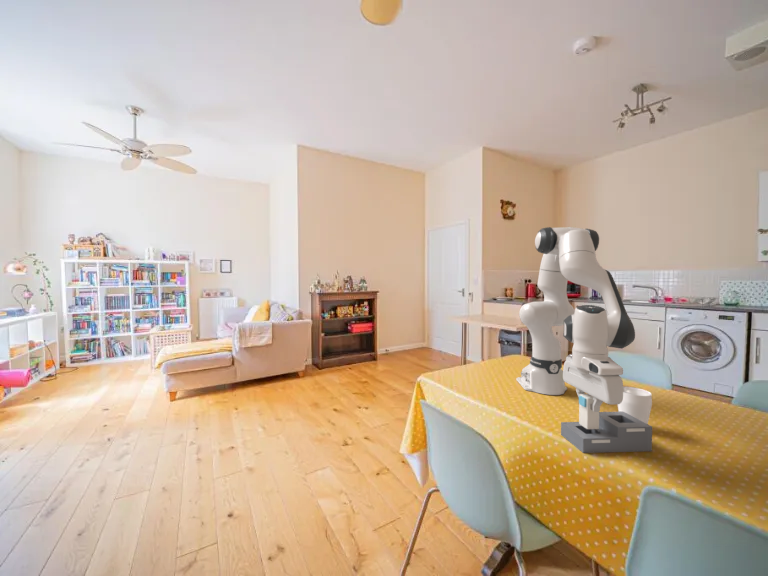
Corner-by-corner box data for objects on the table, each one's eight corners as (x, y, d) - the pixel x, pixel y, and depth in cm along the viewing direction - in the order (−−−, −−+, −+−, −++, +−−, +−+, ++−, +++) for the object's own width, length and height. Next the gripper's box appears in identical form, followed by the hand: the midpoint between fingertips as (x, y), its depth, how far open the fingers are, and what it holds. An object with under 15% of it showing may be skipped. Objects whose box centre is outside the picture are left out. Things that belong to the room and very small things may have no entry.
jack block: (560, 434, 96) (561, 412, 96) (622, 433, 97) (623, 411, 97) (583, 453, 86) (584, 428, 86) (652, 451, 87) (652, 426, 87)
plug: (577, 423, 93) (577, 394, 92) (590, 423, 93) (590, 393, 93) (585, 429, 89) (585, 398, 89) (598, 428, 89) (599, 398, 89)
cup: (616, 418, 108) (617, 384, 107) (650, 426, 102) (651, 390, 102) (615, 427, 101) (616, 391, 100) (651, 436, 95) (652, 398, 95)
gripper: (557, 352, 101) (557, 394, 101) (605, 371, 80) (604, 423, 81) (576, 352, 101) (575, 394, 101) (628, 370, 81) (627, 422, 81)
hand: (588, 407), depth 91 cm, fingers closed on plug, 3 cm apart
